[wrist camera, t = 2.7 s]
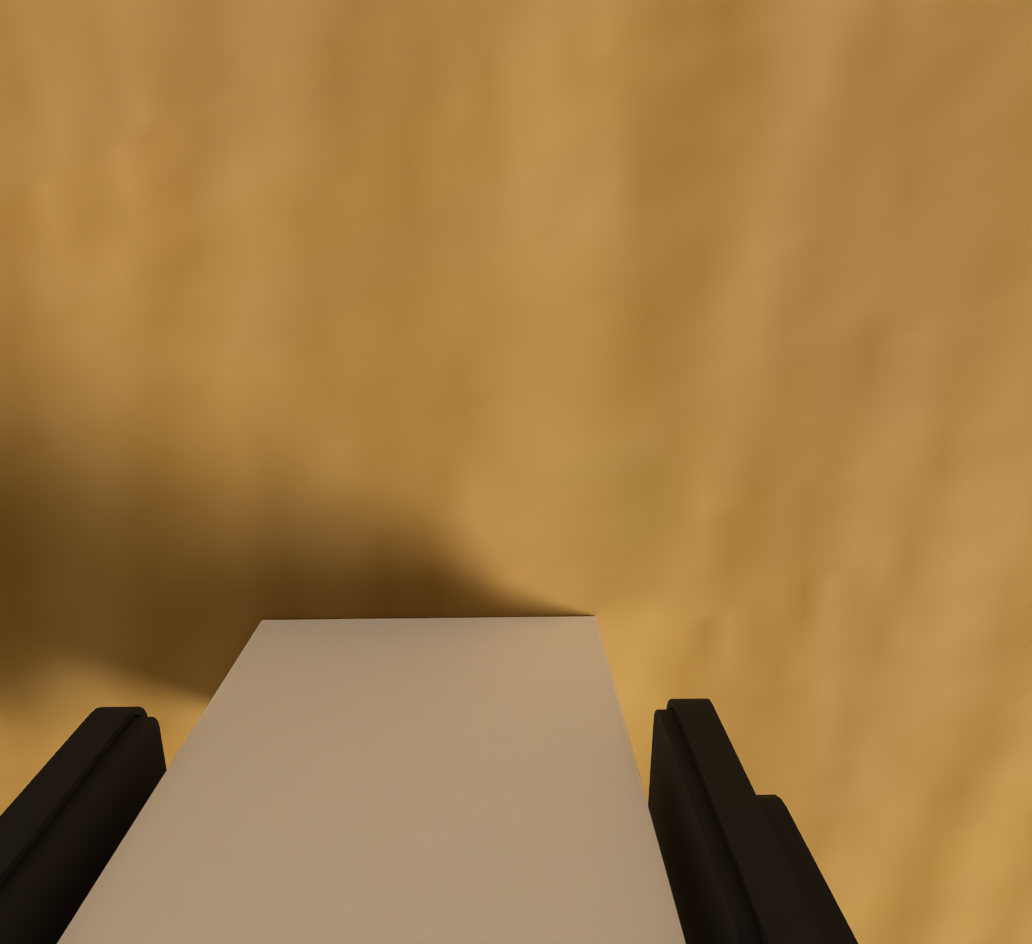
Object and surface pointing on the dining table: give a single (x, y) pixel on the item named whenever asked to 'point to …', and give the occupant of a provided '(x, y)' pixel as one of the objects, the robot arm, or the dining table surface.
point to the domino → (397, 797)
